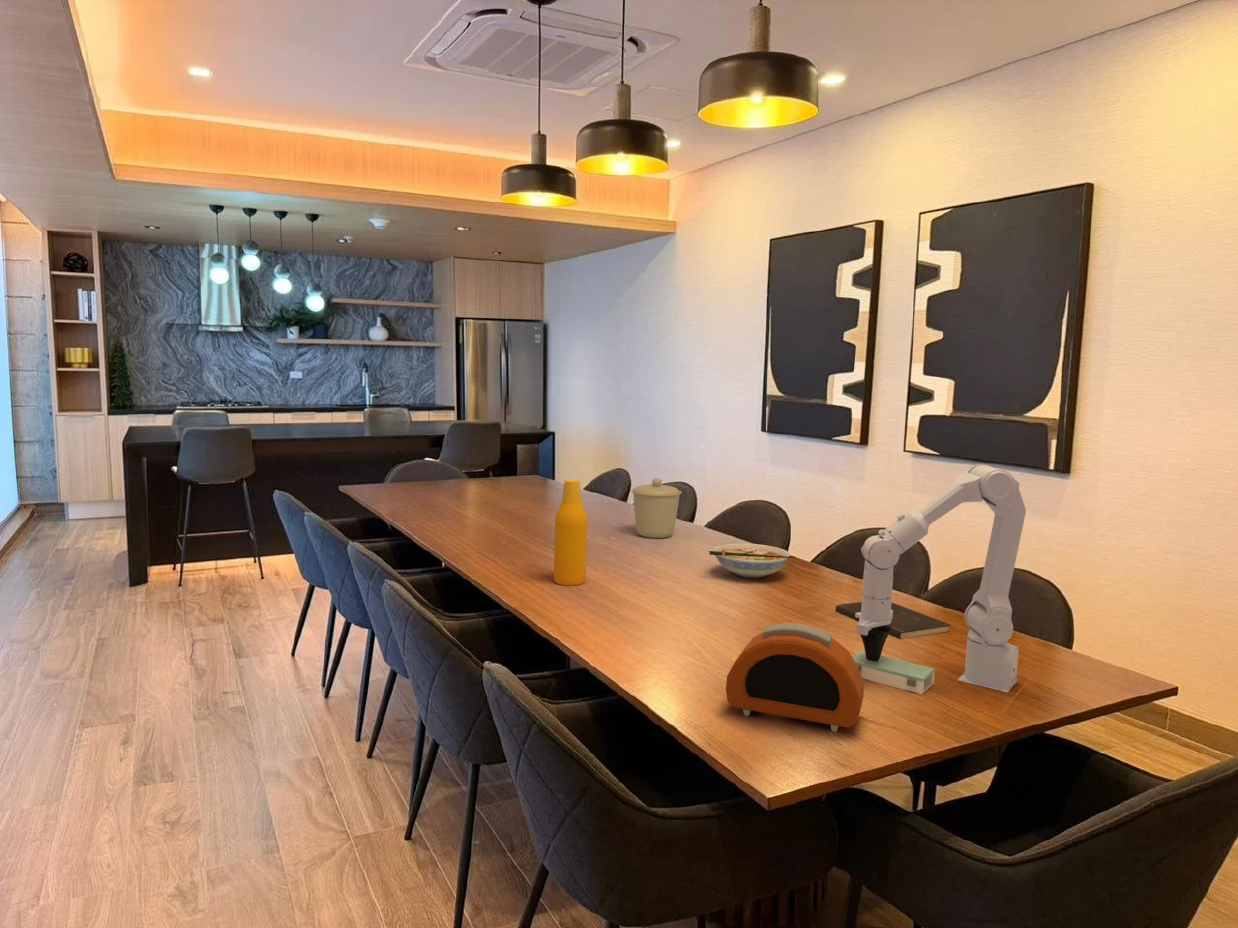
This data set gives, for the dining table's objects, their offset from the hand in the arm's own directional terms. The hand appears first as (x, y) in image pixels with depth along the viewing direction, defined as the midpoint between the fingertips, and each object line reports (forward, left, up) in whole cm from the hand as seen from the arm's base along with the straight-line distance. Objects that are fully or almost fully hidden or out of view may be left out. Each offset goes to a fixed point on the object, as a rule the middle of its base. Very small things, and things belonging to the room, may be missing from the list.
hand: (872, 660), depth 168 cm
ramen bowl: (+59, -55, -4) cm, 81 cm away
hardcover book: (+11, -40, -4) cm, 42 cm away
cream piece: (-4, 0, -4) cm, 5 cm away
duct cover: (-4, 0, 0) cm, 4 cm away
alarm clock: (+4, +28, -4) cm, 28 cm away
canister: (+113, -81, -4) cm, 139 cm away
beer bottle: (+93, -12, -4) cm, 94 cm away
